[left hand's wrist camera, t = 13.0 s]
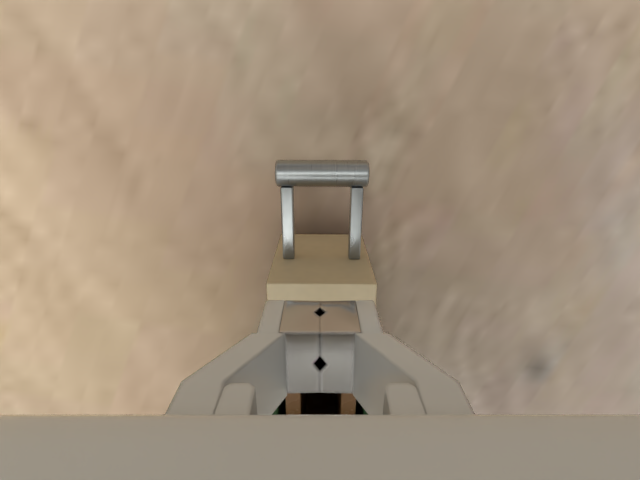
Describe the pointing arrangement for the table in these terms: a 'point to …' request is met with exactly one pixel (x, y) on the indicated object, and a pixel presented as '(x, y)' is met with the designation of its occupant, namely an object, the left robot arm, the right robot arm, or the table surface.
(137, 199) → the table surface
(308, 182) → the drawer
